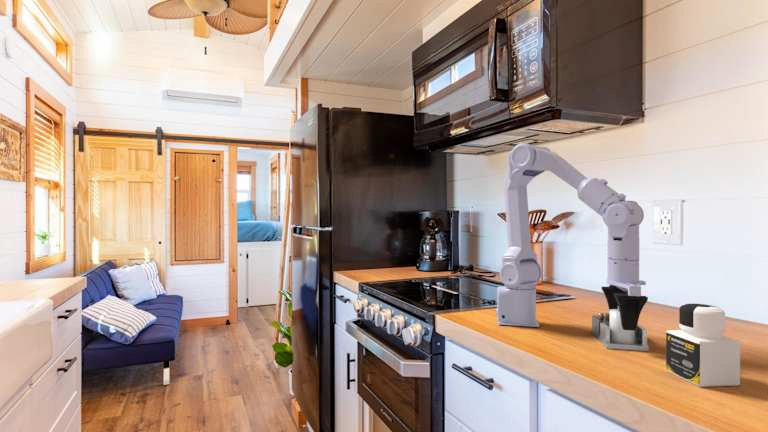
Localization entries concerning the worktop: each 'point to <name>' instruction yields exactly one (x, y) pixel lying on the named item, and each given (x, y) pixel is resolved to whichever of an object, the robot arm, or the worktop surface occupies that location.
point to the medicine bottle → (703, 348)
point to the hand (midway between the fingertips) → (622, 325)
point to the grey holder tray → (603, 335)
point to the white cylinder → (619, 329)
